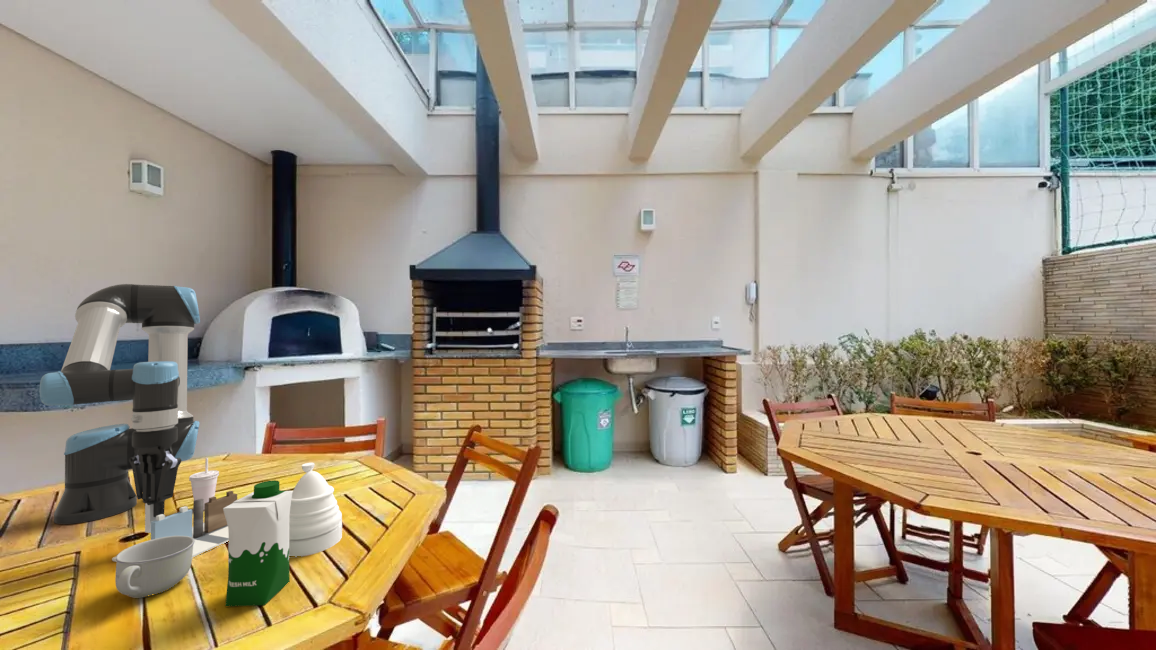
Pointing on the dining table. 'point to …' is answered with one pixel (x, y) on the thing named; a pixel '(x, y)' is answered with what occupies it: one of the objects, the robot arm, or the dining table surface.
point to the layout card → (207, 540)
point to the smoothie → (204, 483)
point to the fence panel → (173, 524)
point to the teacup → (153, 565)
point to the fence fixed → (210, 513)
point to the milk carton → (258, 545)
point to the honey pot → (313, 515)
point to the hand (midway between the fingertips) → (154, 529)
